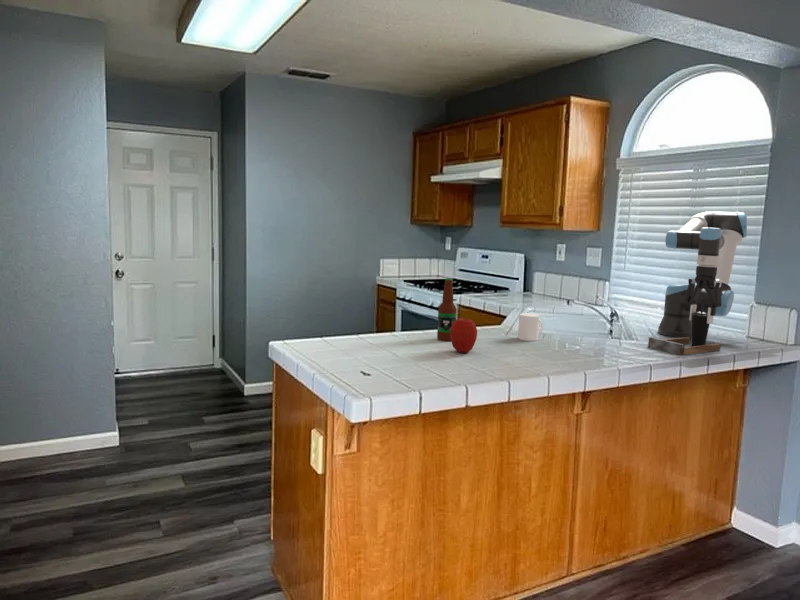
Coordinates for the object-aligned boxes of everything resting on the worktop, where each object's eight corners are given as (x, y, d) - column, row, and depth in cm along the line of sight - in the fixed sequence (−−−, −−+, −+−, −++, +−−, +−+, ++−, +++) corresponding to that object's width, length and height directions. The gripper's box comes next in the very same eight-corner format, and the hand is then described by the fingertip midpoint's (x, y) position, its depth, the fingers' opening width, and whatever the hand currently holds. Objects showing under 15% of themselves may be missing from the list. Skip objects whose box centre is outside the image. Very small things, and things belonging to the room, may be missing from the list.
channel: (647, 346, 242) (648, 337, 241) (686, 342, 253) (687, 333, 253) (680, 355, 229) (681, 345, 228) (719, 350, 240) (720, 340, 239)
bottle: (435, 340, 240) (437, 279, 237) (439, 337, 247) (442, 277, 244) (452, 342, 238) (455, 280, 234) (456, 338, 245) (459, 278, 241)
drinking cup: (697, 349, 240) (702, 300, 238) (683, 345, 248) (688, 297, 245) (712, 348, 243) (718, 300, 240) (698, 344, 250) (703, 297, 247)
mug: (515, 313, 250) (536, 312, 256) (513, 337, 251) (534, 335, 257) (529, 316, 243) (550, 315, 249) (527, 341, 244) (548, 339, 250)
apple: (443, 350, 223) (445, 313, 221) (465, 348, 228) (467, 312, 226) (459, 356, 215) (461, 318, 213) (481, 353, 220) (483, 316, 218)
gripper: (678, 263, 247) (673, 318, 251) (724, 268, 230) (717, 326, 233) (690, 263, 251) (685, 317, 254) (736, 268, 233) (729, 325, 237)
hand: (700, 321), depth 244 cm, fingers closed on drinking cup, 7 cm apart
